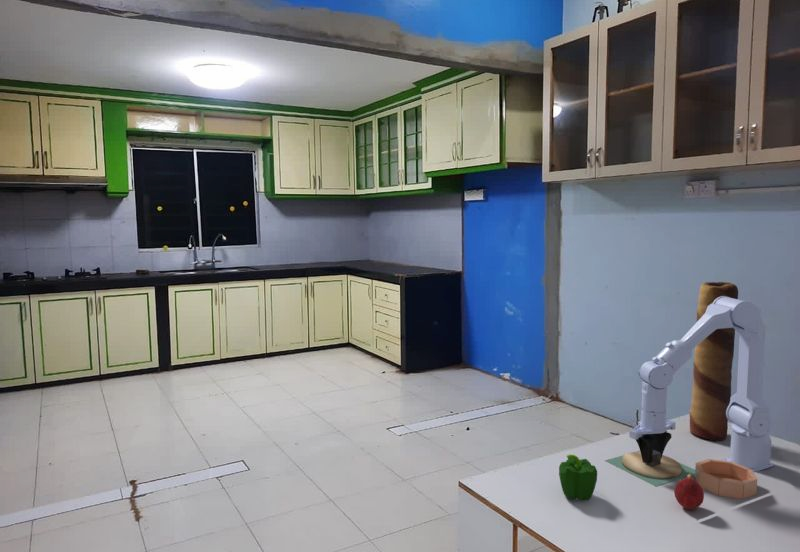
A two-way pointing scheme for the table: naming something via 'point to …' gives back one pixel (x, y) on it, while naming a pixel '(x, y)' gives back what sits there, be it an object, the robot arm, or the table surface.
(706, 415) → the wafer roll
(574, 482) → the bell pepper
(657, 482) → the mat
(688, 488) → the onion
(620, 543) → the table surface
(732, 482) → the bowl
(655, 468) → the lid
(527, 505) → the table surface
